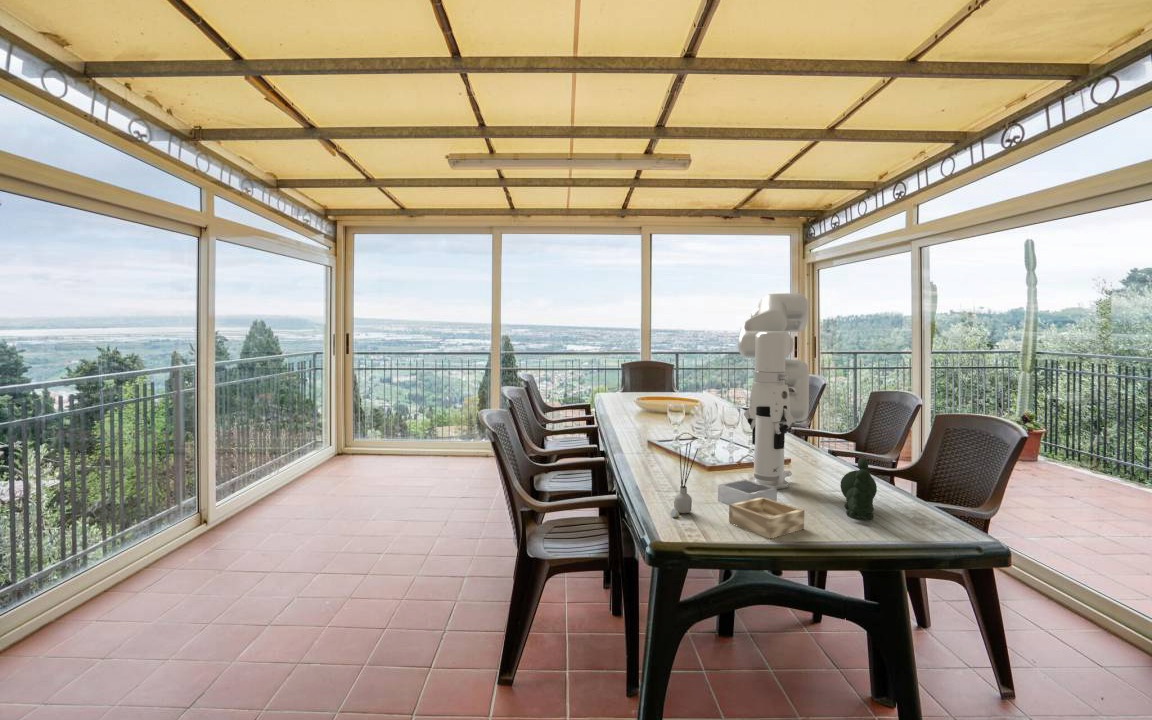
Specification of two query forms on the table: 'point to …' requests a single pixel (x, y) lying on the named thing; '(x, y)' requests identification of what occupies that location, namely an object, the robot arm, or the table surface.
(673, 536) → the table surface
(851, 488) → the toy figurine
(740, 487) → the open box
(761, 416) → the travel mug
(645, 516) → the table surface
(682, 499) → the reed diffuser
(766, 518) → the light wooden tray
